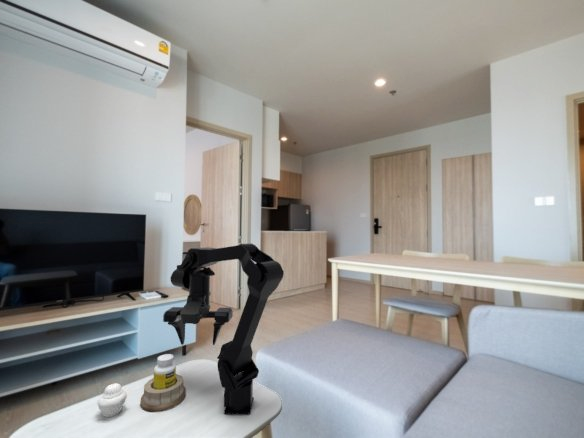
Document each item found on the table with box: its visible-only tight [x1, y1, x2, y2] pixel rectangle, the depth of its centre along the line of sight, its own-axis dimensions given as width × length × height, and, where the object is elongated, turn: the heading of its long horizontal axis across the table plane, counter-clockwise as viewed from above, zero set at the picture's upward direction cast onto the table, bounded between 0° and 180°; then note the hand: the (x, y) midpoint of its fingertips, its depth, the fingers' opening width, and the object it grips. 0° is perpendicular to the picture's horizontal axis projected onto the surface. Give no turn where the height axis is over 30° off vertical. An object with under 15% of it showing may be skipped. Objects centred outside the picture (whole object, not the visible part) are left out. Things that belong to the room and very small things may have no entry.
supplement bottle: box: [153, 353, 177, 390], centre depth 74 cm, size 5×5×10 cm
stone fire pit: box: [140, 373, 187, 413], centre depth 74 cm, size 11×11×4 cm
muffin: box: [96, 382, 128, 418], centre depth 68 cm, size 6×6×7 cm
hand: (198, 344), depth 81 cm, fingers open, 9 cm apart
